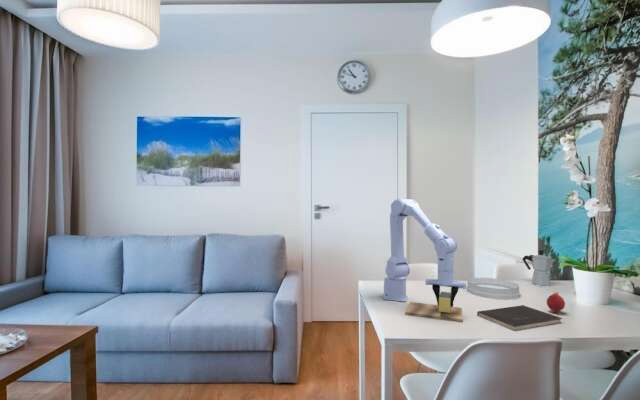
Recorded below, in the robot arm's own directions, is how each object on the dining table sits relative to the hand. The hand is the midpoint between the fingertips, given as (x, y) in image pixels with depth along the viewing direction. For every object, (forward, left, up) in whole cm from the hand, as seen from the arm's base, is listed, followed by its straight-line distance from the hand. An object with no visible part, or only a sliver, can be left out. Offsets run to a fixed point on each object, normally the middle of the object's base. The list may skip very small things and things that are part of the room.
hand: (445, 305), depth 130 cm
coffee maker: (+44, +69, -3) cm, 82 cm away
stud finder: (0, 0, -2) cm, 2 cm away
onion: (+40, +19, -3) cm, 44 cm away
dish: (+20, +41, -4) cm, 46 cm away
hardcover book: (+25, +5, -4) cm, 26 cm away
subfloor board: (-4, 0, -3) cm, 5 cm away
